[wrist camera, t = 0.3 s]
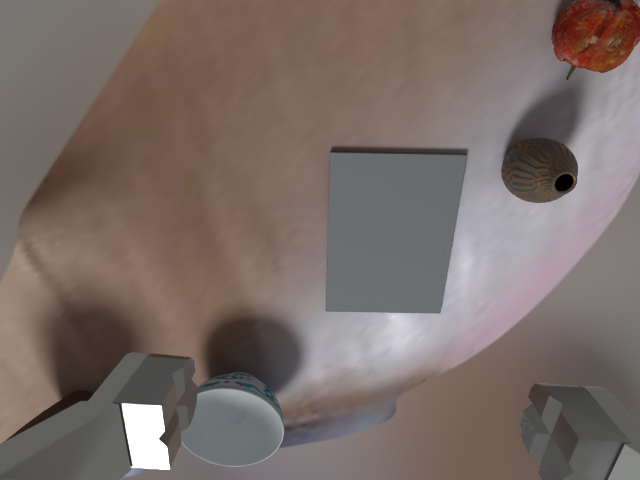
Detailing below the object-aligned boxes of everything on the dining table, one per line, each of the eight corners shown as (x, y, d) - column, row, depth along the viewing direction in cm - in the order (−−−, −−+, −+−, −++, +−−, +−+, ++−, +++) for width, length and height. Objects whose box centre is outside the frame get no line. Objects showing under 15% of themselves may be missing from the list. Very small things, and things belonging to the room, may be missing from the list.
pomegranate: (594, 62, 43) (664, -36, 35) (607, 107, 40) (689, 10, 31) (527, 55, 44) (579, -44, 35) (534, 99, 40) (594, 1, 32)
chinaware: (182, 407, 62) (164, 451, 55) (206, 337, 56) (189, 375, 49) (271, 432, 64) (264, 477, 57) (302, 367, 58) (299, 407, 51)
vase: (514, 124, 44) (557, 136, 36) (564, 148, 45) (616, 164, 37) (481, 178, 46) (515, 200, 38) (529, 200, 48) (571, 225, 39)
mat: (330, 151, 45) (330, 152, 45) (465, 154, 45) (467, 155, 45) (325, 308, 54) (325, 311, 53) (438, 311, 54) (440, 313, 54)
